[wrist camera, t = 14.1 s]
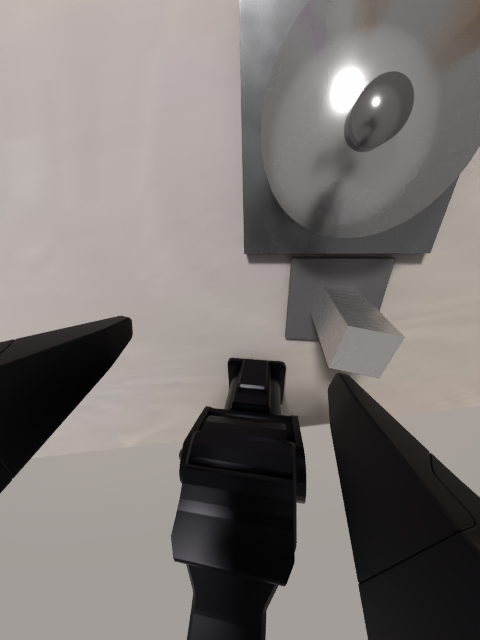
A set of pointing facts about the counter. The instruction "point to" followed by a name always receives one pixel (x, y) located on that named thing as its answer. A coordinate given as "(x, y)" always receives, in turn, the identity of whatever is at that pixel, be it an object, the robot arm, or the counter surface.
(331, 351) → the gray rectangular block
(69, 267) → the counter surface
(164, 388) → the counter surface
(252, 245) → the base plate
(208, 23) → the counter surface
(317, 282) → the mat
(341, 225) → the oval metal lid
